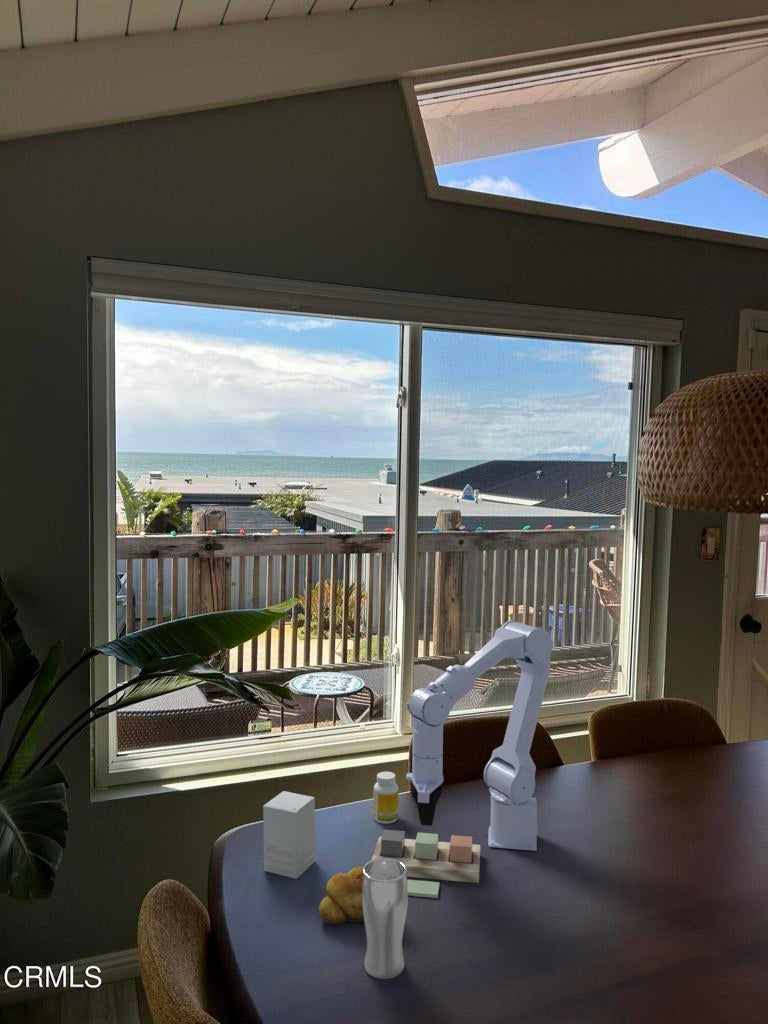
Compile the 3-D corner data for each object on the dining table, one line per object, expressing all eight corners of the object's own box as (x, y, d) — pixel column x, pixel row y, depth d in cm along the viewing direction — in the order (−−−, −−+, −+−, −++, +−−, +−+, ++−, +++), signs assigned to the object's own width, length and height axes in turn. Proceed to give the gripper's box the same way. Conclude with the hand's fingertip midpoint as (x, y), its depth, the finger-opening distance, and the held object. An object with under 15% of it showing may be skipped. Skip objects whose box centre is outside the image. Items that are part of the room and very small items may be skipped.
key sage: (438, 849, 141) (438, 834, 140) (436, 860, 137) (436, 844, 136) (417, 847, 141) (417, 832, 141) (415, 858, 137) (415, 842, 137)
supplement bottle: (368, 817, 158) (368, 774, 157) (387, 810, 161) (387, 768, 161) (384, 827, 154) (384, 782, 153) (403, 819, 157) (403, 775, 156)
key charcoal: (404, 846, 142) (404, 831, 141) (401, 857, 138) (402, 841, 137) (384, 844, 142) (384, 829, 142) (381, 855, 138) (381, 839, 138)
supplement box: (316, 861, 140) (316, 796, 139) (296, 880, 133) (296, 812, 132) (283, 852, 143) (283, 789, 142) (262, 871, 136) (262, 804, 136)
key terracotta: (472, 852, 140) (472, 836, 139) (471, 863, 136) (471, 847, 135) (451, 850, 140) (451, 835, 140) (449, 861, 136) (449, 845, 136)
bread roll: (325, 938, 117) (326, 889, 116) (309, 905, 126) (309, 859, 125) (400, 920, 121) (400, 873, 121) (378, 889, 130) (379, 846, 130)
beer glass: (360, 952, 113) (360, 857, 112) (404, 950, 114) (405, 856, 113) (362, 983, 106) (362, 882, 105) (410, 980, 107) (410, 880, 106)
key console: (480, 854, 142) (480, 845, 142) (478, 883, 132) (479, 872, 132) (379, 846, 145) (379, 836, 145) (370, 873, 136) (370, 862, 135)
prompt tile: (439, 885, 132) (439, 882, 132) (437, 898, 128) (437, 894, 128) (406, 882, 132) (406, 879, 132) (403, 895, 129) (403, 891, 129)
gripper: (411, 738, 146) (410, 805, 146) (401, 766, 131) (400, 840, 132) (446, 740, 145) (445, 807, 145) (440, 769, 130) (439, 843, 131)
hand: (426, 823), depth 139 cm, fingers closed
